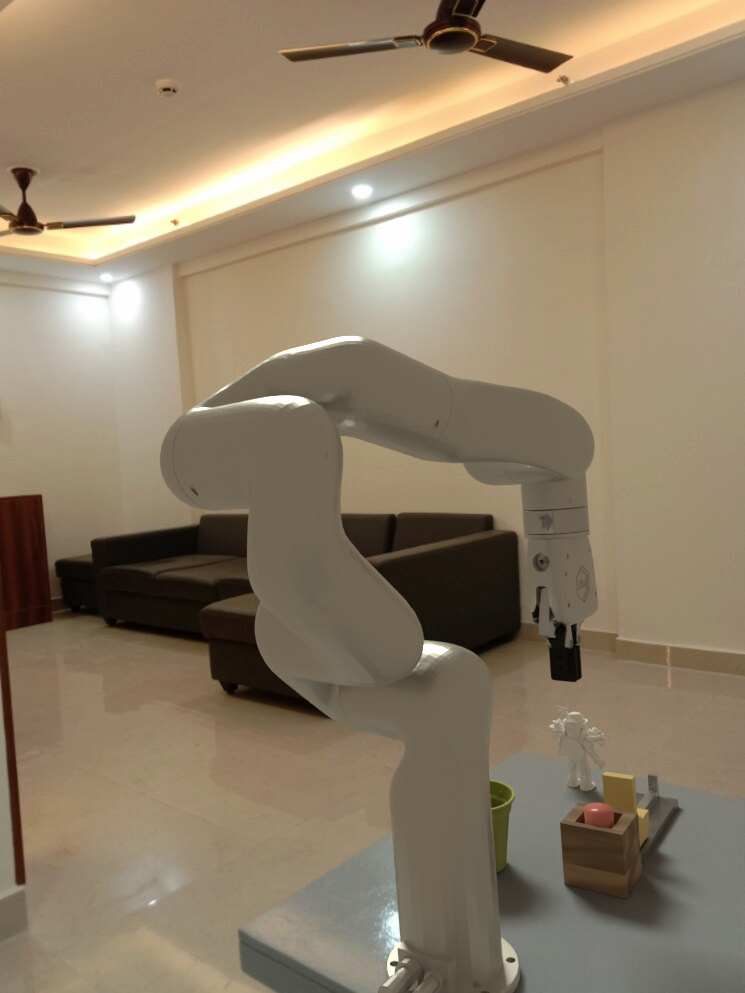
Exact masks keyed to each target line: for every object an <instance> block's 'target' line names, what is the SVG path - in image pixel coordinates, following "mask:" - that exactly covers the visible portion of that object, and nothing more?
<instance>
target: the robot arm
mask: <svg viewBox="0 0 745 993" xmlns="http://www.w3.org/2000/svg"><path fill="white" fill-rule="evenodd" d="M593 434H594V433H593V432H592V429H591V427H590V425H589V423H588V421H587V420H586V418H584V416H583V415H582V414H581V413H580V412H579V411H577V410H576V409H575V408H574V407H572V406H571V405H569V404H567V403H566V402H563V401H562V400H560V399H558V398H556V397H554V396H551V395H549V394H546V393H543V392H540V391H536V390H531V389H527V388H520V387H514V386H510V385H503V384H496V383H492V382H486V381H481V380H476V379H470V378H468V379H467V378H460V377H456V376H451V375H448V374H447V373H444V372H442V371H440V370H438V369H436V368H434V367H432V366H430V365H427V364H426V363H423V362H421V361H419V360H417V359H415V358H412V357H410V355H407V354H405V353H402V352H400V351H398V350H396V349H393V348H391V347H389V346H387V345H385V344H383V343H381V342H378V341H377V340H374V339H372V338H367V337H363V336H357V335H348V336H347V335H343V336H336V337H333V338H330V339H326V340H321V341H318V342H314V343H310V344H306V345H302V346H298V347H293V348H290V349H287V350H283V351H279V352H278V353H275V354H273V355H271V356H270V357H268V358H266V359H265V360H263V361H262V362H260V363H258V364H257V365H255V366H254V367H252V368H250V369H249V370H248V371H246V372H244V373H243V374H241V375H240V376H238V377H237V378H235V379H234V380H232V381H231V382H229V383H228V384H225V386H223V387H222V388H221V389H219V390H217V391H215V392H214V393H212V394H211V395H210V396H208V397H207V398H205V399H204V400H202V401H200V402H199V403H197V404H195V405H194V406H192V407H191V408H189V409H188V410H187V411H185V412H184V413H183V414H182V415H181V416H179V417H178V418H177V419H176V420H175V421H174V422H173V424H172V425H171V426H170V427H169V428H168V429H167V432H166V434H165V435H164V438H163V441H162V444H161V447H160V453H159V466H160V468H159V469H160V471H161V475H162V479H163V481H164V483H165V486H166V487H167V488H168V489H169V491H170V492H171V493H172V494H173V496H175V497H176V498H177V499H178V500H179V501H180V502H182V503H184V504H186V505H188V506H189V507H192V508H196V509H199V510H204V511H213V512H214V511H233V510H235V511H236V510H248V519H247V536H246V538H247V539H246V541H247V542H246V565H247V566H246V567H247V574H248V580H249V583H250V584H249V585H250V587H251V589H252V591H253V592H254V594H255V596H256V597H257V599H258V600H259V605H258V606H257V610H256V614H255V619H254V635H255V636H254V637H255V641H256V646H257V648H258V651H259V653H260V655H261V657H262V659H263V660H264V663H265V664H266V665H267V667H268V668H269V669H270V670H271V672H272V673H274V674H275V675H276V676H277V677H278V678H279V679H281V681H283V682H284V683H285V684H286V685H288V686H289V687H290V688H291V689H292V690H294V691H295V692H296V693H297V694H298V695H300V696H301V697H302V698H303V699H305V700H306V701H308V702H309V703H310V704H311V705H313V706H314V707H315V708H316V709H318V710H319V711H320V712H322V713H323V714H325V715H326V716H327V717H328V718H330V719H332V720H333V721H334V722H336V723H338V724H340V725H342V726H343V727H346V728H349V729H352V730H356V731H358V732H363V733H368V734H372V735H376V736H381V737H386V738H390V739H392V740H395V741H399V742H402V743H403V745H404V751H403V754H402V758H401V760H400V761H399V763H398V765H397V768H396V769H395V771H394V773H393V775H392V777H391V781H390V784H389V796H388V797H389V798H388V799H389V801H388V802H389V814H390V821H391V837H392V851H393V860H394V871H395V872H394V876H395V887H396V888H395V890H396V900H397V912H398V927H399V940H400V941H398V943H397V944H396V945H395V946H394V947H393V948H392V950H391V951H390V953H389V954H388V957H387V961H386V962H385V966H386V967H385V971H386V972H385V973H386V979H385V981H384V982H382V984H381V985H380V986H379V987H378V989H377V993H514V992H515V991H516V990H517V989H518V986H519V982H520V979H521V967H520V958H519V956H518V953H517V951H516V950H515V949H514V948H513V945H511V943H509V942H508V941H507V940H506V939H505V938H503V937H502V933H501V919H500V918H501V917H500V905H499V904H500V903H499V893H498V892H499V891H498V878H497V873H496V862H495V848H494V835H493V823H492V810H491V797H490V780H491V779H490V741H491V740H490V739H491V731H492V730H491V729H492V721H493V713H494V703H495V688H494V687H495V686H494V681H493V680H494V679H493V677H492V673H491V670H490V669H489V667H488V666H487V664H486V663H485V661H484V660H483V659H482V658H481V657H479V655H478V654H476V653H475V652H473V651H471V650H470V649H468V648H465V647H463V646H460V645H457V644H454V643H449V642H443V641H438V640H437V641H436V640H426V639H425V637H424V632H423V628H422V624H421V623H420V620H419V618H418V615H417V614H416V611H415V610H414V609H413V607H411V606H410V604H409V602H408V601H407V600H406V599H405V598H404V596H403V595H401V593H399V591H398V590H397V589H395V587H393V585H392V584H391V583H390V582H389V581H388V580H387V578H385V577H384V576H383V575H382V574H381V573H380V571H378V570H377V569H376V568H375V567H374V566H373V565H372V564H371V563H370V562H369V561H368V560H367V559H366V558H365V557H364V556H363V555H362V554H361V553H360V551H359V550H358V549H357V548H356V546H355V545H354V543H352V541H350V539H349V537H348V536H347V535H346V533H345V530H344V526H343V520H342V508H341V506H342V502H341V501H342V498H341V496H342V481H343V474H344V473H343V472H344V471H343V470H344V449H343V448H344V447H343V441H342V438H341V437H348V438H353V439H358V440H361V441H363V442H367V443H369V444H373V445H376V446H379V447H382V448H385V449H388V450H391V451H394V452H398V453H401V454H403V455H405V456H406V455H407V456H409V457H412V458H414V459H418V460H422V461H427V462H431V463H432V462H433V463H435V462H436V463H446V464H463V467H464V468H465V470H466V472H467V473H468V474H469V476H470V477H472V478H473V479H474V480H476V481H477V482H479V483H481V484H484V485H487V486H488V485H489V486H516V485H520V491H521V492H520V493H521V494H520V495H521V509H522V510H521V511H522V523H523V526H522V527H523V537H524V539H527V546H526V548H527V549H526V592H527V593H526V594H527V608H528V613H529V614H528V615H529V618H530V620H531V621H532V623H534V624H536V625H538V635H539V637H541V638H546V639H545V641H546V646H547V647H548V653H549V657H548V658H549V668H550V671H549V672H550V679H551V680H552V681H557V682H568V683H569V682H570V683H576V682H577V681H579V680H581V679H582V677H583V672H582V670H583V669H582V656H581V640H582V636H581V635H582V629H581V628H582V626H581V625H582V624H583V623H584V621H585V619H588V618H590V617H591V616H593V615H594V614H596V612H597V611H598V608H599V600H598V589H597V580H596V574H595V566H594V565H595V564H594V557H593V552H592V546H591V542H590V538H589V536H590V534H591V531H590V519H589V518H590V517H589V505H588V504H589V501H588V490H587V487H588V486H587V474H586V472H587V471H588V469H589V468H590V466H591V464H592V462H593V459H594V456H595V450H596V449H595V439H594V435H593Z"/></svg>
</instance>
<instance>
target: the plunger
mask: <svg viewBox="0 0 745 993" xmlns="http://www.w3.org/2000/svg"><path fill="white" fill-rule="evenodd" d="M586 804H587V805H585V806H584V817H585V824H589V825H594V826H599V827H605V828H610V829H612V828H613V827H614V815H613V808H612V806H610V805H608V804H605V803H604V802H591V803H586Z"/></svg>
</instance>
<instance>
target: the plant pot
mask: <svg viewBox="0 0 745 993" xmlns="http://www.w3.org/2000/svg"><path fill="white" fill-rule="evenodd" d="M489 780H490V797H491V810H492V823H493V835H494V848H495V862H496V874H497V873H500V872H501V871H502V870H504V869H505V867H506V865H507V859H508V858H507V856H508V843H509V842H508V841H509V824H510V822H509V821H510V812H511V811H512V804H513V802H515V801H514V800H515V799H516V798H515V797H516V792H515V790H514V788H513V787H512V786H510V785H509V784H507V783H505V782H502V781H499V780H495V779H489Z"/></svg>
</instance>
